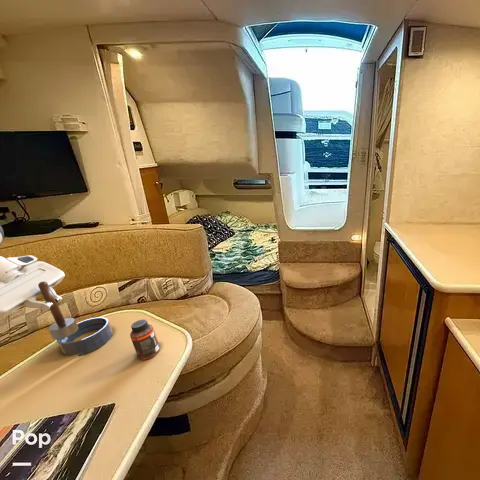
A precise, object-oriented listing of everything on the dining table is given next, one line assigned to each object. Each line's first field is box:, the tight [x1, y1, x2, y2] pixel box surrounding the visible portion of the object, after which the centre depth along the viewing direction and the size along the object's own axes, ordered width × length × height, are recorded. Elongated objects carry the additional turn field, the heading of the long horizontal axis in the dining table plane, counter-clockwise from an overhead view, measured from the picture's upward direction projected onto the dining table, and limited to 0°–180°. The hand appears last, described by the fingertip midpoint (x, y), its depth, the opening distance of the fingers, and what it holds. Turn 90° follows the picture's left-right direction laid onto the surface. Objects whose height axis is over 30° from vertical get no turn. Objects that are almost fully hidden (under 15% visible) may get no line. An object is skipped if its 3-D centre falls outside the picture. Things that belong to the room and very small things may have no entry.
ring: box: [55, 316, 114, 357], centre depth 89 cm, size 13×13×6 cm
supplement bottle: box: [129, 318, 161, 361], centre depth 81 cm, size 6×6×11 cm
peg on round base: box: [38, 281, 79, 340], centre depth 73 cm, size 6×6×16 cm
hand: (55, 304), depth 73 cm, fingers closed on peg on round base
